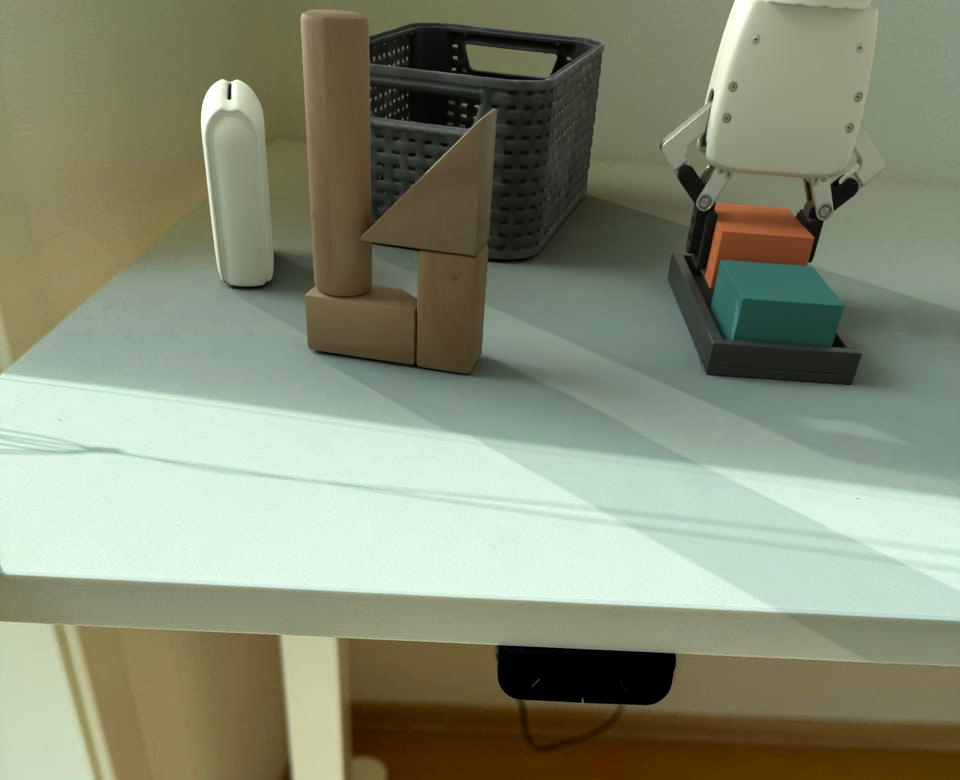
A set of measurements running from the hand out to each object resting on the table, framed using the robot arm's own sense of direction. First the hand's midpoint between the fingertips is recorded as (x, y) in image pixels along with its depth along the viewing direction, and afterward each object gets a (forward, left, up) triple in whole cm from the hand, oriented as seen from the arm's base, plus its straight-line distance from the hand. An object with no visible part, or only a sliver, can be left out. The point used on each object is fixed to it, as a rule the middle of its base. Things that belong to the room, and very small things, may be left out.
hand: (745, 265), depth 69 cm
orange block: (0, 0, -1) cm, 1 cm away
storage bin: (+22, -22, -3) cm, 31 cm away
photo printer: (+38, -1, -3) cm, 38 cm away
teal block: (0, +9, -3) cm, 9 cm away
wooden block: (+25, +14, -3) cm, 29 cm away
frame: (0, +4, -3) cm, 5 cm away
